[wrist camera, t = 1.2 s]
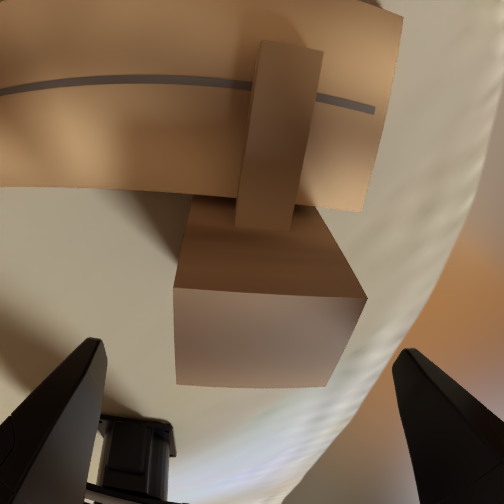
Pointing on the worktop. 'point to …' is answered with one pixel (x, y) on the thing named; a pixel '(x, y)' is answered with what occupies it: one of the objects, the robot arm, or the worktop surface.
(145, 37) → the plank
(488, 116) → the worktop surface
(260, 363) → the brown block with bar
